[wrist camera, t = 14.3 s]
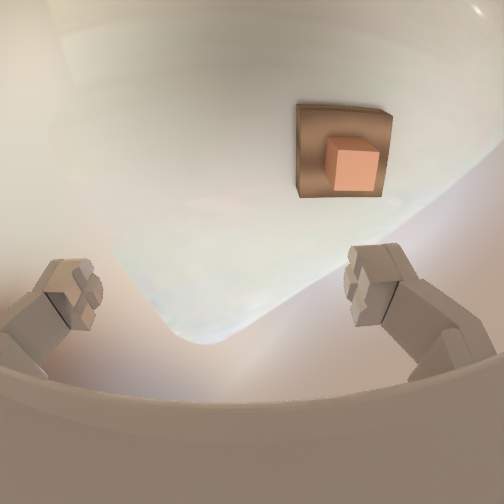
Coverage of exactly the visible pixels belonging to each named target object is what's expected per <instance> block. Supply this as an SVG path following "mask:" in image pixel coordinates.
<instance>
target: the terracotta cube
mask: <svg viewBox="0 0 504 504" xmlns="http://www.w3.org/2000/svg"><path fill="white" fill-rule="evenodd" d="M379 154H380V152H379V151H378V150H377V149H376V148H374V147H373V146H372V145H371V144H370V143H369V142H368V141H367V140H365V139H363V138H348V137H327V144H326V158H325V171H324V173H325V175H326V177H327V179H328V180H329V182H330V184H331V186H332V188H333V190H334V191H373V190H374V185H375V179H376V173H377V167H378V160H379Z"/></svg>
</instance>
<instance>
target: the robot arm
mask: <svg viewBox="0 0 504 504" xmlns="http://www.w3.org/2000/svg"><path fill="white" fill-rule="evenodd" d="M348 259H349V262H350V264H349V265H348V266H347V267H346V268H345V273H344V290H345V294H346V297H347V299H348V300H350V301H351V302H352V305H351V309H350V311H351V314H352V317H353V321H354V324H355V327H360V326H370V325H381V326H382V327H383V328H384V329H385V330H386V331H387V332H388V333H389V335H390V336H392V337H393V339H394V340H395V341H396V342H397V343H398V344H399V345H400V346H401V347H402V348H403V349H404V350H405V351H406V352H407V353H408V354H409V355H410V356H411V357H412V358H413V359H414V360H415V362H416V363H417V364H418V366H417V367H416V368H415V370H414V371H413V372H412V373H411V375H410V376H409V378H408V383H404V384H400V385H395V386H391V387H386V388H381V389H376V390H370V391H365V392H358V393H352V394H346V395H339V396H331V397H323V398H314V399H303V400H292V401H276V402H252V403H210V402H188V401H187V402H186V401H173V400H172V401H171V400H161V399H151V398H142V397H133V396H126V395H119V394H113V393H107V392H101V391H95V390H90V389H85V388H80V387H75V386H71V385H66V384H62V383H58V382H54V381H50V380H47V379H48V376H47V374H46V373H45V372H44V371H43V370H42V369H41V368H40V366H41V365H42V364H43V363H44V361H45V360H46V359H47V358H48V356H49V355H50V354H51V353H52V352H53V351H54V350H55V348H56V347H57V346H58V345H59V344H60V343H61V341H62V340H63V339H64V338H65V337H66V336H67V335H68V333H69V332H70V331H71V330H83V331H90V329H91V326H92V324H93V321H94V318H95V316H96V314H95V311H94V310H95V309H96V308H97V307H98V306H99V305H100V304H101V301H102V299H103V287H102V283H101V281H100V279H99V277H97V276H96V275H95V274H94V273H93V270H94V267H93V265H92V263H91V261H90V260H88V259H54V260H52V261H50V263H49V264H48V266H47V268H46V269H45V271H44V272H43V274H42V275H41V277H40V279H39V280H38V282H37V283H36V285H35V287H34V288H33V290H32V292H28V293H27V294H25V295H24V296H23V297H22V298H20V299H19V300H18V301H17V302H16V303H14V304H13V305H12V306H11V307H10V308H8V309H7V310H6V311H5V312H4V313H3V314H1V315H0V504H504V352H502V353H500V354H497V353H496V351H495V349H494V347H493V344H492V342H491V340H490V338H489V336H488V334H487V332H486V330H485V328H484V326H483V324H482V322H481V320H480V319H478V318H477V317H476V316H474V315H473V314H472V313H470V312H469V311H468V310H466V309H465V308H464V307H462V306H461V305H460V304H458V303H457V302H455V301H454V300H453V299H451V298H450V297H448V296H447V295H446V294H444V293H443V292H441V291H440V290H439V289H437V288H436V287H434V286H433V285H431V284H430V283H429V282H427V281H425V280H424V279H419V278H418V276H417V274H416V272H415V271H414V269H413V267H412V265H411V264H410V262H409V260H408V259H407V257H406V255H405V253H404V252H403V250H402V248H401V247H400V245H399V244H397V243H391V244H382V245H363V246H351V247H350V249H349V253H348Z"/></svg>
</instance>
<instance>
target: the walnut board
mask: <svg viewBox="0 0 504 504" xmlns="http://www.w3.org/2000/svg"><path fill="white" fill-rule="evenodd" d="M392 121H393V116H392V115H390V114H388V113H387V112H385V111H383V110H380V109H371V108H360V107H346V106H328V105H296V188H297V191H298V194H299V197H300V198H321V197H381V196H382V191H383V185H384V180H385V174H386V167H387V161H388V154H389V147H390V139H391V130H392ZM327 137H348V138H363V139H365V140H367V141H368V142H369V143H370V144H371V145H372V146H373V147H374V148H376V149H377V150H378V151H379V152H380V154H379V160H378V167H377V173H376V179H375V185H374V190H373V191H334V190H333V188H332V186H331V184H330V182H329V180H328V179H327V177H326V175H325V173H324V171H325V158H326V144H327Z"/></svg>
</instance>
